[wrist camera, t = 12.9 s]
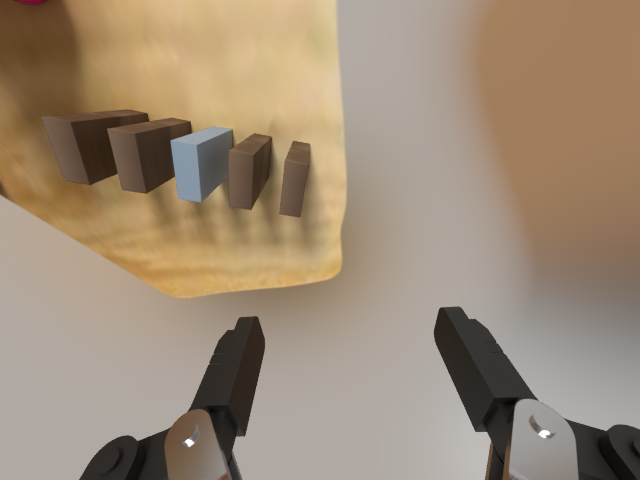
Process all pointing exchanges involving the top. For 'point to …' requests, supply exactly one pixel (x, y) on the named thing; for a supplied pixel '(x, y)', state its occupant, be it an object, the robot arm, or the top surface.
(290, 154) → the domino
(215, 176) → the domino
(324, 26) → the top surface
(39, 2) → the pepper mill
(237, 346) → the robot arm
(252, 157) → the domino
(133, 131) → the domino
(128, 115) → the domino
